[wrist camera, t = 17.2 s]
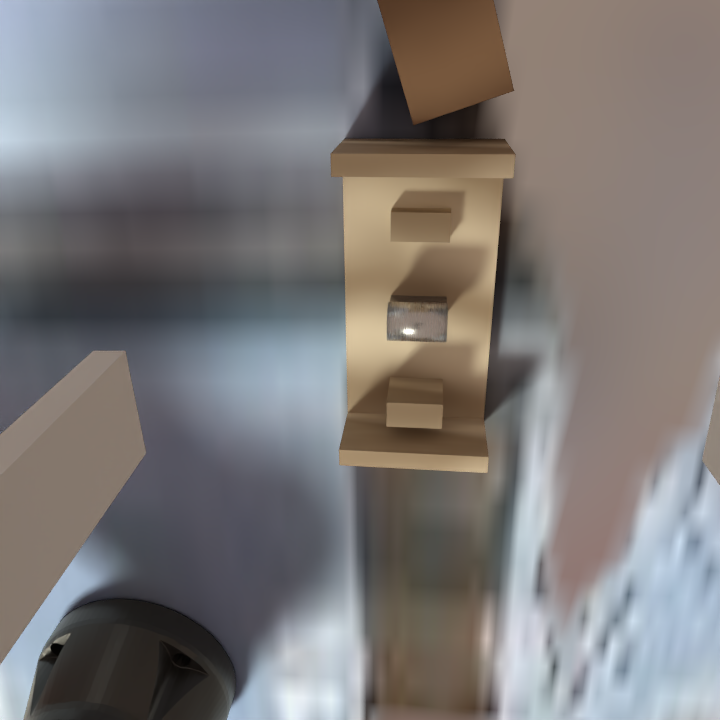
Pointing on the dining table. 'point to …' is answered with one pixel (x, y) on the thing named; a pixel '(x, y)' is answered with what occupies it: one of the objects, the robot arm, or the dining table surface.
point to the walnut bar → (446, 53)
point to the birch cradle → (419, 297)
